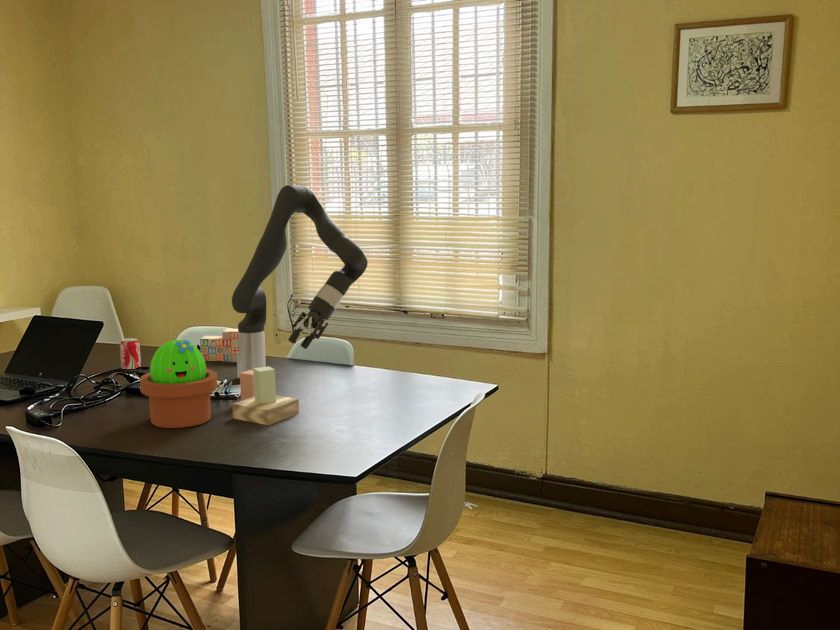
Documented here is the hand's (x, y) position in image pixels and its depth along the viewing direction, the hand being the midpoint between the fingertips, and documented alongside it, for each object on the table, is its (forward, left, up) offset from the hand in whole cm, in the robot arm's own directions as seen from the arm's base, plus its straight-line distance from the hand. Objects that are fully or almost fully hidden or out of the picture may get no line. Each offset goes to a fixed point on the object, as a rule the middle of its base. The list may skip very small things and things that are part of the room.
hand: (296, 344), depth 261 cm
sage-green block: (-4, -12, -16) cm, 20 cm away
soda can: (-85, +13, -20) cm, 88 cm away
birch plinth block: (-4, -12, -21) cm, 24 cm away
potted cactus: (-24, -27, -20) cm, 41 cm away
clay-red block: (-17, -2, -20) cm, 26 cm away
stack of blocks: (-63, +43, -21) cm, 79 cm away
